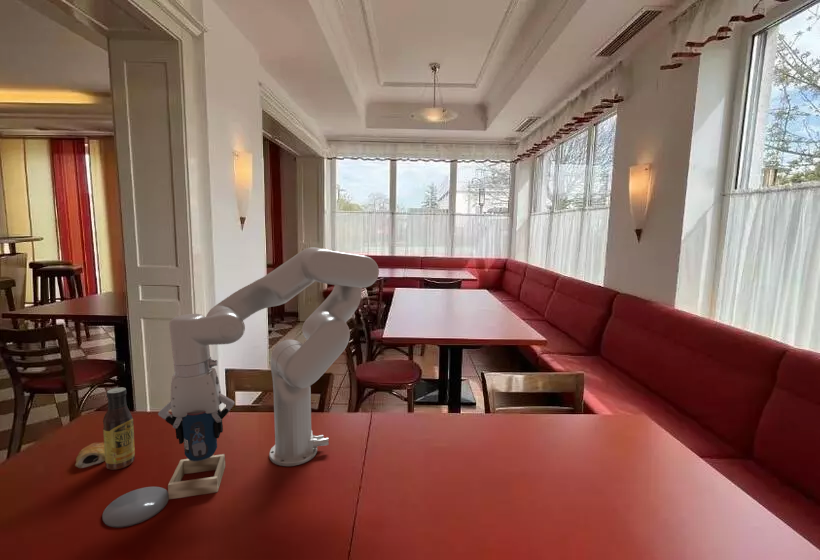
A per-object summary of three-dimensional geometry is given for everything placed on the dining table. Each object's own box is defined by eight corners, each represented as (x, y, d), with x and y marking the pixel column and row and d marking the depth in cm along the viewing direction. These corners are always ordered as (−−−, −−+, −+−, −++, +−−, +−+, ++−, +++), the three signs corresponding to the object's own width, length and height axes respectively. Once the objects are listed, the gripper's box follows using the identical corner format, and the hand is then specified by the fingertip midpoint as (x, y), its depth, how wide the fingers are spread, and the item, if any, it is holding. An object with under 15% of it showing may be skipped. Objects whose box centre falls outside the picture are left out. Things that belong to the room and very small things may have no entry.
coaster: (175, 485, 94) (175, 483, 94) (158, 521, 83) (158, 518, 83) (117, 493, 91) (117, 491, 91) (91, 532, 79) (90, 529, 79)
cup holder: (225, 466, 102) (224, 454, 101) (217, 492, 92) (216, 478, 92) (181, 472, 99) (180, 459, 98) (168, 499, 89) (167, 485, 89)
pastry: (81, 452, 107) (80, 439, 107) (112, 446, 111) (111, 433, 110) (74, 471, 99) (73, 457, 99) (108, 463, 103) (107, 449, 102)
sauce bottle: (119, 472, 98) (113, 397, 96) (99, 469, 100) (91, 394, 97) (142, 458, 105) (136, 386, 102) (122, 455, 106) (116, 384, 103)
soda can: (208, 443, 100) (205, 398, 98) (223, 453, 96) (220, 406, 94) (179, 456, 94) (176, 409, 93) (193, 467, 90) (190, 418, 89)
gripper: (235, 357, 98) (241, 424, 100) (156, 366, 93) (164, 435, 96) (230, 368, 90) (237, 440, 93) (144, 378, 86) (154, 453, 89)
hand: (200, 437), depth 94 cm, fingers closed on soda can, 7 cm apart
